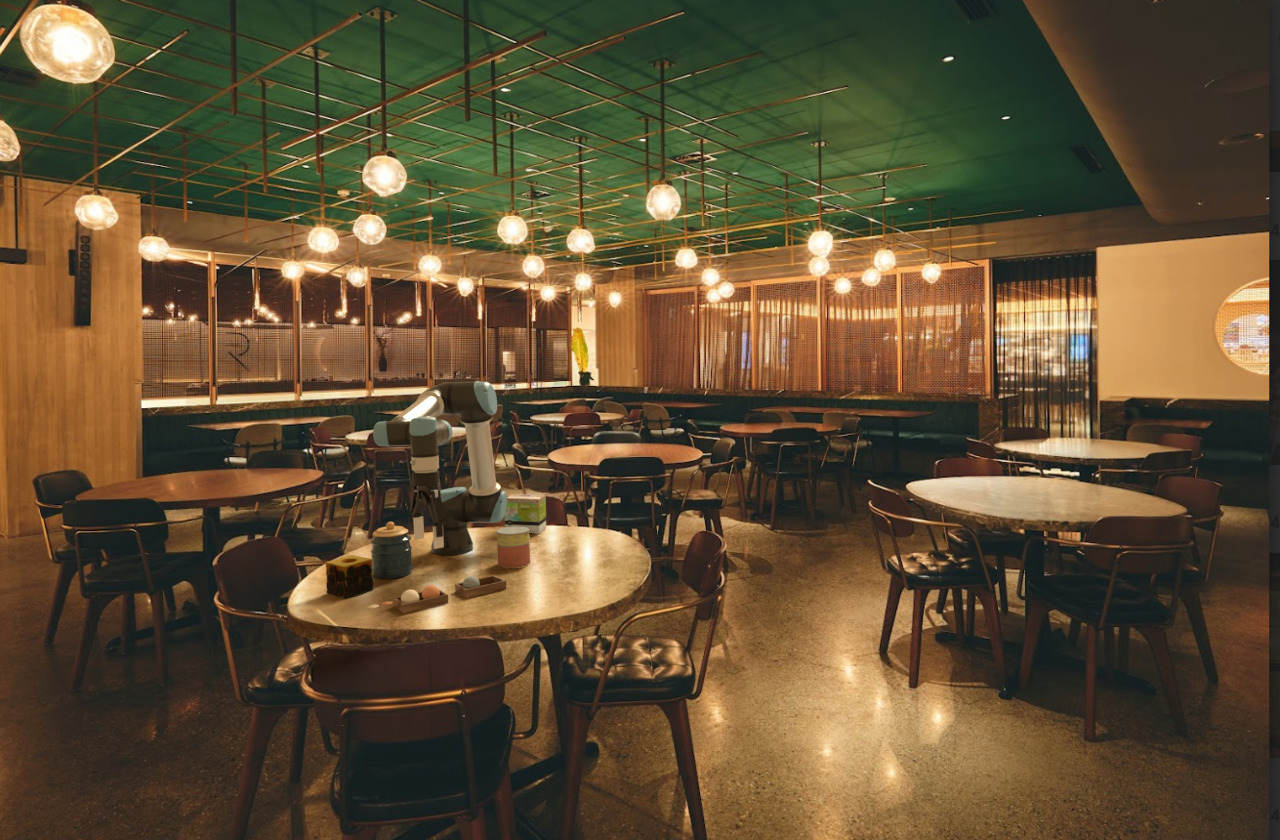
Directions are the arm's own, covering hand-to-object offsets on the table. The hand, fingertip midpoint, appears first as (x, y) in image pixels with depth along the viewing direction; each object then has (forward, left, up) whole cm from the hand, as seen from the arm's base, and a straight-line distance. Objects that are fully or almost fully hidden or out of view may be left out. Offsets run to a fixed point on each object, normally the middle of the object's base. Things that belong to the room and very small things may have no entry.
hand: (428, 543), depth 207 cm
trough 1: (0, -3, -18) cm, 18 cm away
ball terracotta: (0, 0, -17) cm, 17 cm away
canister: (-38, +3, -18) cm, 42 cm away
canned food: (-20, +39, -18) cm, 47 cm away
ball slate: (0, +13, -17) cm, 22 cm away
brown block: (-28, -14, -18) cm, 36 cm away
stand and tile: (-10, -4, -18) cm, 21 cm away
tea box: (-59, +67, -18) cm, 91 cm away
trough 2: (0, +16, -18) cm, 24 cm away
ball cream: (0, -6, -17) cm, 19 cm away
